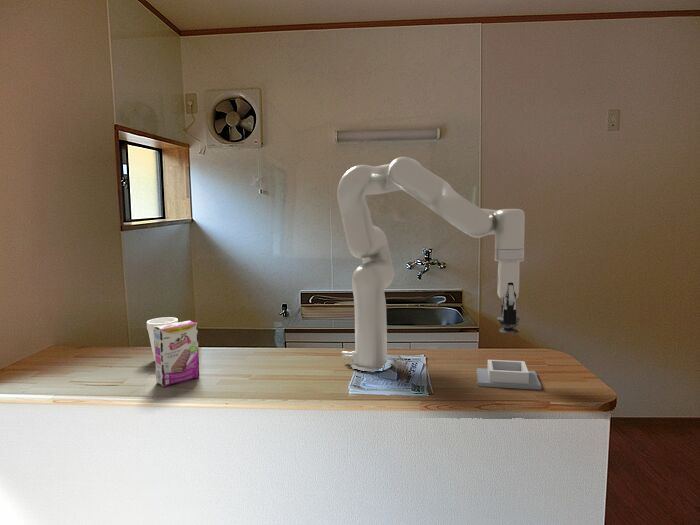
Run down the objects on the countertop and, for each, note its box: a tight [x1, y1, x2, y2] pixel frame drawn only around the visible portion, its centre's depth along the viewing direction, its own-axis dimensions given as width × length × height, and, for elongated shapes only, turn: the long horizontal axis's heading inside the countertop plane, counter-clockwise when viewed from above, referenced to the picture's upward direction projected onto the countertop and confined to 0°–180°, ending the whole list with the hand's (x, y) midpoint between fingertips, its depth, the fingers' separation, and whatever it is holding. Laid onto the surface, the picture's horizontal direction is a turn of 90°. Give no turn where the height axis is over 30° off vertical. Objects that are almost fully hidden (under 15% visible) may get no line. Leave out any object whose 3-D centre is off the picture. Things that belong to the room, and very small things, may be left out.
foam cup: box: [146, 316, 179, 361], centre depth 165 cm, size 10×9×13 cm
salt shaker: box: [496, 296, 521, 335], centre depth 139 cm, size 6×6×12 cm
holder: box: [476, 359, 542, 390], centre depth 141 cm, size 16×12×4 cm
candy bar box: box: [154, 320, 200, 388], centre depth 145 cm, size 11×5×16 cm, turn 134°
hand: (508, 320), depth 139 cm, fingers closed on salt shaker, 5 cm apart
